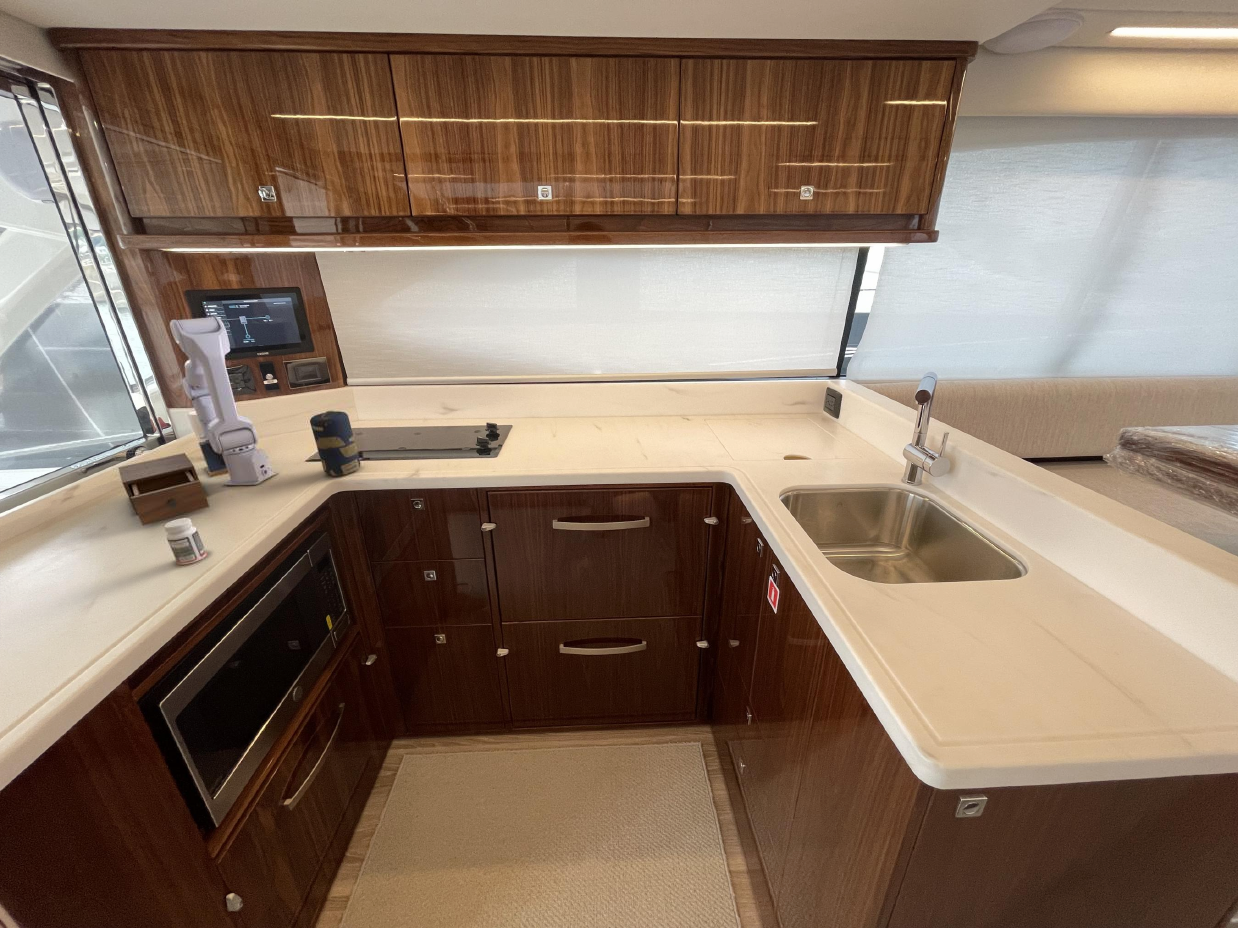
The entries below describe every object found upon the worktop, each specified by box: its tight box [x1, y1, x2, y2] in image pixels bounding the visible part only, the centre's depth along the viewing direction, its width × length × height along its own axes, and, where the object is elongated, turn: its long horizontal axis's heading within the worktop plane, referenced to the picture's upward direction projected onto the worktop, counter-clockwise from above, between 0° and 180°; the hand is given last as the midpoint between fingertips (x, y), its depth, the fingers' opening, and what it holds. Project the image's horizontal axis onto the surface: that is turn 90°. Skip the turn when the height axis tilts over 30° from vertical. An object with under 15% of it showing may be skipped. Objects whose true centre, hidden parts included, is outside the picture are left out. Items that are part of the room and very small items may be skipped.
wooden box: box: [118, 452, 200, 515], centre depth 130 cm, size 16×14×9 cm
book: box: [198, 441, 227, 472], centre depth 149 cm, size 3×9×8 cm, turn 136°
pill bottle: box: [163, 517, 207, 566], centre depth 100 cm, size 5×5×8 cm
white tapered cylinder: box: [187, 410, 208, 443], centre depth 158 cm, size 7×7×15 cm
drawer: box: [131, 470, 210, 526], centre depth 122 cm, size 16×12×7 cm
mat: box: [204, 466, 229, 477], centre depth 151 cm, size 10×10×1 cm
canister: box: [309, 410, 361, 477], centre depth 140 cm, size 10×10×18 cm
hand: (226, 462), depth 150 cm, fingers closed on book, 3 cm apart
